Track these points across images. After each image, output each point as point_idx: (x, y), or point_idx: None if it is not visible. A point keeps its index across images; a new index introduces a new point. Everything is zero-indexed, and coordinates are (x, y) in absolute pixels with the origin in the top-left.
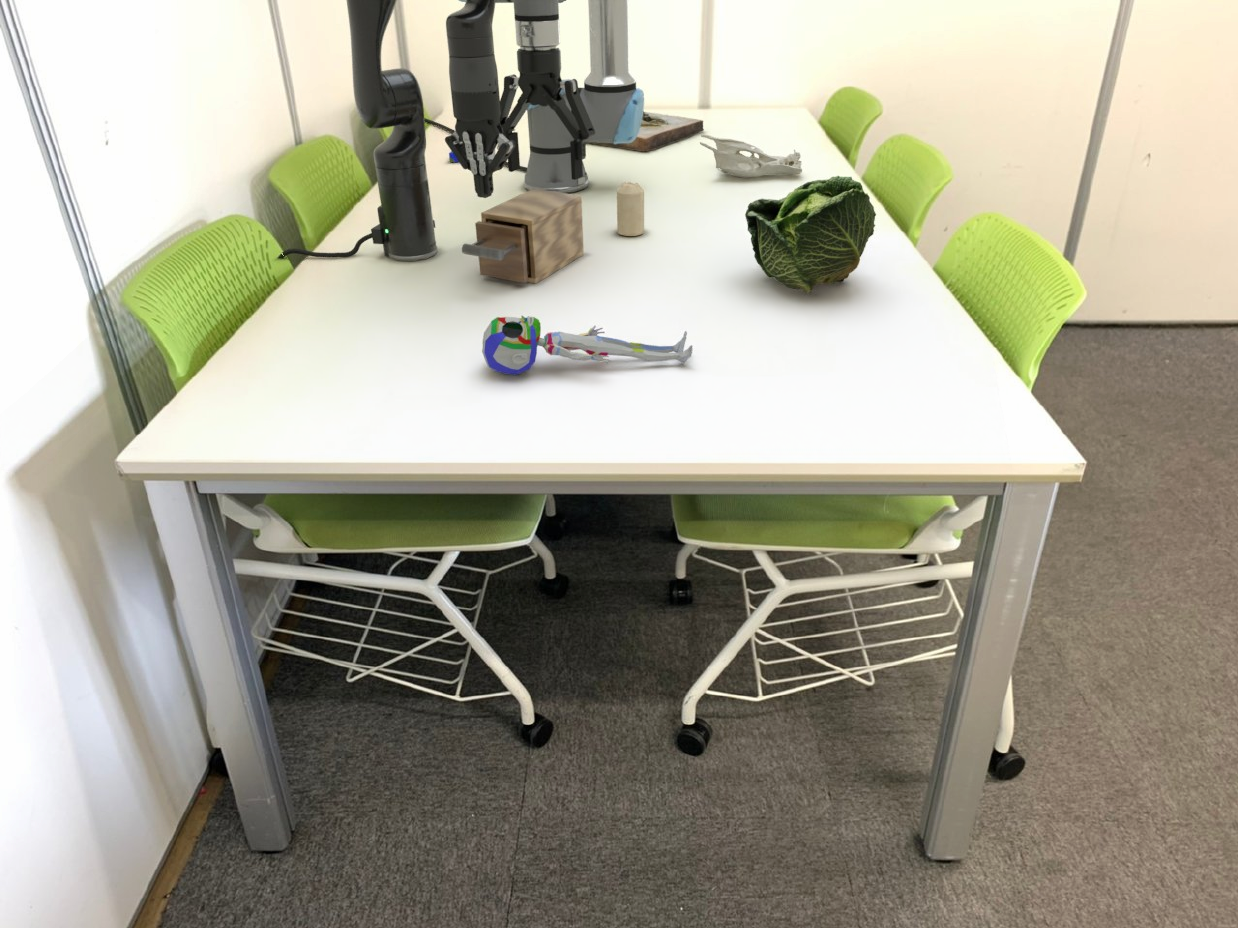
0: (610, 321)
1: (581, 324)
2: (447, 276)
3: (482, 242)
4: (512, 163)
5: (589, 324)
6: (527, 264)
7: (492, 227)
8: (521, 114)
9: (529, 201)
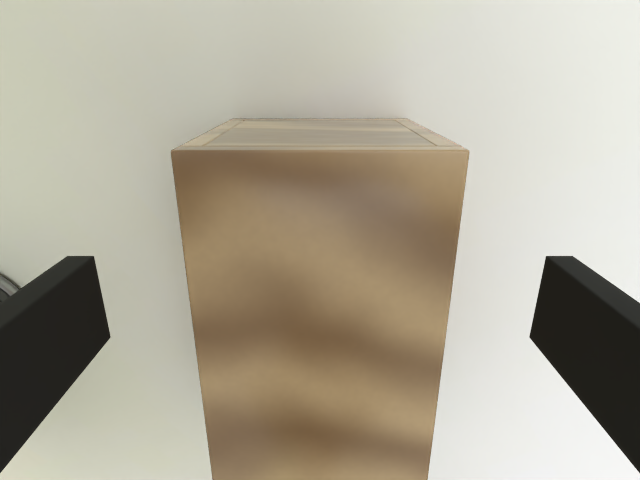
0: None
1: (572, 468)
2: (174, 393)
3: None
4: (83, 357)
5: (587, 463)
6: None
7: None
8: None
9: (289, 330)
